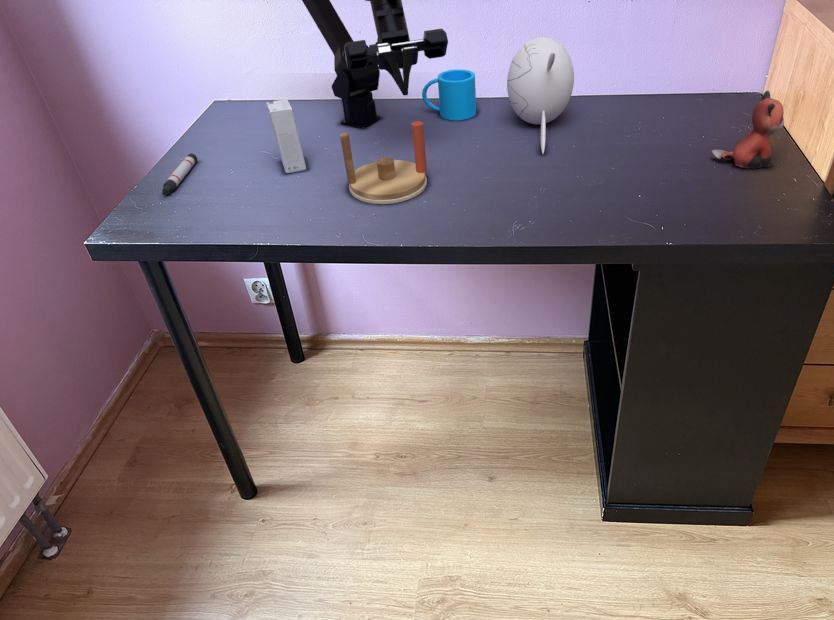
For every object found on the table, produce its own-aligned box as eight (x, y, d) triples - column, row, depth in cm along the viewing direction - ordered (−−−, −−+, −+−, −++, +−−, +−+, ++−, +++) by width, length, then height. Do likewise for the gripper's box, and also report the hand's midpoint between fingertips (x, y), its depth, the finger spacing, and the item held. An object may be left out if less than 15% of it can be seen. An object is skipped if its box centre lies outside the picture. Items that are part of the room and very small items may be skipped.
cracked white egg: (509, 29, 140) (511, 48, 119) (574, 32, 140) (587, 52, 119) (503, 120, 150) (503, 153, 129) (563, 123, 150) (573, 157, 129)
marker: (189, 162, 133) (186, 153, 132) (198, 162, 133) (195, 153, 132) (159, 199, 122) (156, 189, 121) (170, 199, 122) (166, 189, 121)
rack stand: (333, 194, 121) (333, 191, 120) (378, 162, 130) (378, 159, 129) (399, 210, 115) (398, 207, 115) (441, 176, 124) (441, 173, 124)
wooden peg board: (334, 190, 120) (324, 137, 114) (378, 159, 129) (371, 108, 123) (398, 206, 115) (391, 151, 108) (439, 172, 124) (435, 120, 117)
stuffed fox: (706, 153, 127) (719, 90, 119) (765, 152, 127) (782, 88, 119) (716, 171, 121) (730, 106, 114) (778, 169, 121) (797, 104, 113)
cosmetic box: (307, 170, 129) (294, 108, 121) (284, 174, 128) (269, 112, 120) (302, 157, 133) (289, 97, 125) (280, 161, 132) (265, 101, 124)
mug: (478, 106, 150) (477, 69, 145) (473, 120, 144) (472, 82, 139) (426, 105, 152) (423, 69, 146) (420, 119, 146) (416, 82, 140)
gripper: (434, 28, 131) (450, 104, 130) (340, 41, 128) (357, 119, 128) (438, -5, 119) (456, 79, 119) (336, 10, 117) (354, 95, 117)
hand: (405, 94), depth 121 cm, fingers closed
